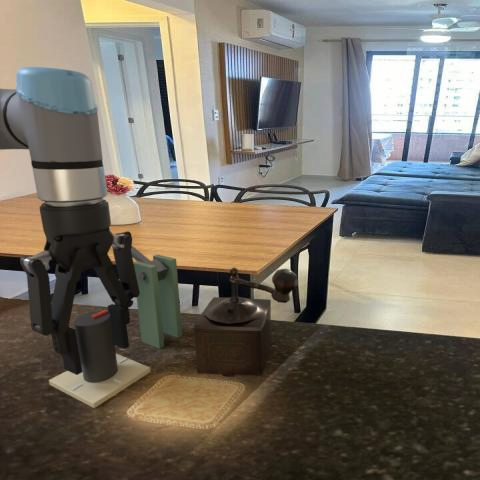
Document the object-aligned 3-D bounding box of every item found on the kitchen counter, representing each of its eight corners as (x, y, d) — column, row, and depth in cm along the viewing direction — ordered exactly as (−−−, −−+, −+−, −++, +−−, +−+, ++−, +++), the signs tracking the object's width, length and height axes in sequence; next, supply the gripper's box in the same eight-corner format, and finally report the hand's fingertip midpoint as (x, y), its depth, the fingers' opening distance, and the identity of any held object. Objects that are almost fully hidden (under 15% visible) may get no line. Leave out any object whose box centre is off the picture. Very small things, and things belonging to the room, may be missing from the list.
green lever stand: (121, 349, 65) (109, 263, 61) (163, 326, 73) (155, 248, 69) (162, 366, 61) (153, 274, 57) (202, 340, 69) (197, 258, 65)
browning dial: (96, 386, 53) (87, 326, 50) (76, 376, 55) (66, 318, 52) (124, 369, 57) (117, 313, 54) (105, 361, 59) (97, 306, 56)
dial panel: (50, 392, 55) (48, 379, 54) (108, 360, 62) (107, 348, 62) (95, 416, 50) (93, 402, 50) (151, 378, 58) (150, 366, 58)
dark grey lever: (98, 245, 65) (101, 233, 63) (125, 238, 69) (127, 227, 68) (147, 286, 61) (150, 274, 60) (171, 276, 66) (174, 265, 65)
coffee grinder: (193, 383, 57) (184, 272, 52) (214, 343, 68) (208, 248, 63) (296, 387, 57) (297, 275, 52) (301, 347, 68) (302, 251, 63)
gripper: (122, 188, 59) (138, 322, 65) (-36, 209, 42) (6, 387, 48) (157, 193, 55) (170, 333, 62) (1, 218, 39) (41, 407, 45)
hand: (98, 357), depth 55 cm, fingers open, 6 cm apart
